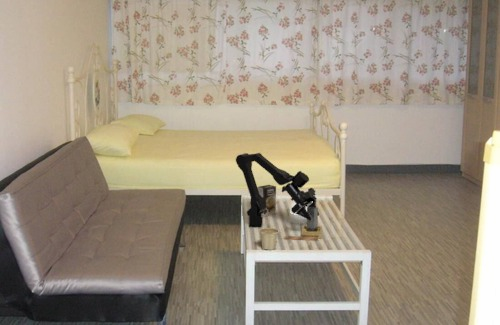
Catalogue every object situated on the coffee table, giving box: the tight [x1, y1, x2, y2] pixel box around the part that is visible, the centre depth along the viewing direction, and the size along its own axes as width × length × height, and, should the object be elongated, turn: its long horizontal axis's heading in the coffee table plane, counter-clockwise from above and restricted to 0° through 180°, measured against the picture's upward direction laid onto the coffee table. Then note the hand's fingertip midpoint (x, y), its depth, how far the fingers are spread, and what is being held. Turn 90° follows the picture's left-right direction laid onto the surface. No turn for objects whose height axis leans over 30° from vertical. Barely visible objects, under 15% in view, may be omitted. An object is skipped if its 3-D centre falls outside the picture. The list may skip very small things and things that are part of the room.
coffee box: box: [257, 184, 277, 217], centre depth 340 cm, size 9×6×16 cm
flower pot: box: [258, 227, 280, 251], centre depth 282 cm, size 9×9×9 cm
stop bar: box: [306, 206, 319, 231], centre depth 300 cm, size 4×4×14 cm
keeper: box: [301, 225, 323, 240], centre depth 301 cm, size 10×10×4 cm
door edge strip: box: [284, 235, 319, 242], centre depth 295 cm, size 16×2×1 cm, turn 84°
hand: (314, 217), depth 299 cm, fingers open, 9 cm apart
